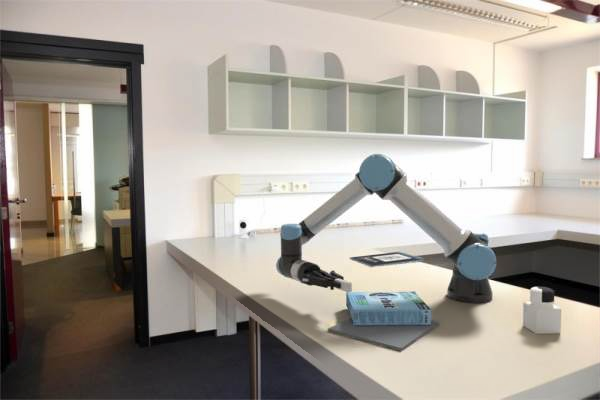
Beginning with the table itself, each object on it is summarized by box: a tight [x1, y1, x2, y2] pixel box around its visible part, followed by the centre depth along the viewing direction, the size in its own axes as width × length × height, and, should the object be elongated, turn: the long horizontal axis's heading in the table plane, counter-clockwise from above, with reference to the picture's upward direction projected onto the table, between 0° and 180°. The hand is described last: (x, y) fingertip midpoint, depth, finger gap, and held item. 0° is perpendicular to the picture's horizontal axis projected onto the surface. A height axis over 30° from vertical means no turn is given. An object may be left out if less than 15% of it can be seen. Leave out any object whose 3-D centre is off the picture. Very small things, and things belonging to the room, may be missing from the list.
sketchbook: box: [349, 250, 424, 268], centre depth 227 cm, size 22×30×2 cm
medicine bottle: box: [522, 286, 562, 335], centre depth 128 cm, size 7×7×12 cm
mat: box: [327, 317, 439, 352], centre depth 131 cm, size 23×24×1 cm
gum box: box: [345, 291, 432, 325], centre depth 140 cm, size 20×5×23 cm
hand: (349, 287), depth 135 cm, fingers closed
